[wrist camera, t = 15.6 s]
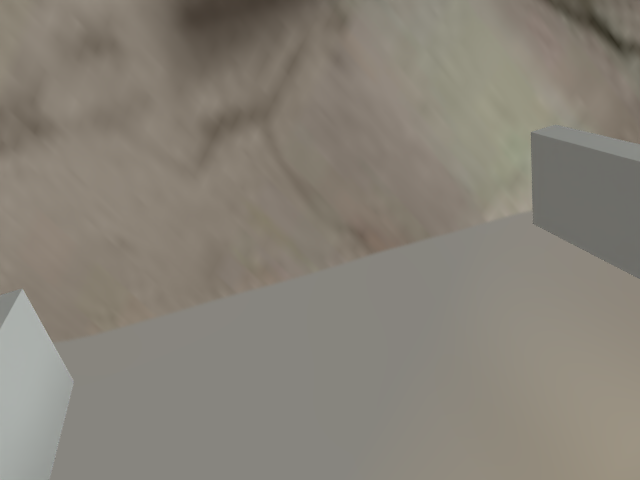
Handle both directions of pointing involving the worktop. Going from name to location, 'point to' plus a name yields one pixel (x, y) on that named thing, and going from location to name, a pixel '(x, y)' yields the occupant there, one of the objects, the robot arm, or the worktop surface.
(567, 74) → the worktop surface
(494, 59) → the worktop surface
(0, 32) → the worktop surface
